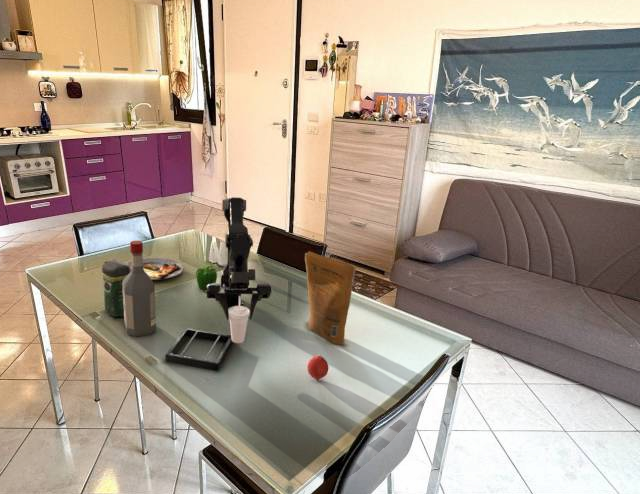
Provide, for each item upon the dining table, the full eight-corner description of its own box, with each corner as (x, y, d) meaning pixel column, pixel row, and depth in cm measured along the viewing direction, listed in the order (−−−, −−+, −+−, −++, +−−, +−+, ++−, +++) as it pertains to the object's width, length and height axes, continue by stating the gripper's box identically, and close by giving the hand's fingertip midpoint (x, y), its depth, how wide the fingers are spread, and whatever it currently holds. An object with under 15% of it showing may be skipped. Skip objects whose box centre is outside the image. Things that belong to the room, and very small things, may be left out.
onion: (304, 372, 125) (307, 348, 122) (324, 372, 126) (327, 348, 123) (308, 385, 120) (311, 360, 117) (329, 385, 120) (332, 360, 117)
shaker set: (231, 267, 198) (232, 244, 194) (224, 269, 195) (224, 245, 191) (215, 259, 206) (215, 237, 202) (207, 261, 203) (208, 238, 199)
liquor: (128, 338, 137) (122, 248, 127) (124, 324, 145) (118, 239, 135) (157, 333, 141) (154, 245, 131) (151, 320, 149) (148, 236, 138)
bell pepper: (191, 289, 173) (191, 266, 170) (201, 282, 180) (201, 259, 177) (210, 294, 170) (210, 270, 167) (219, 286, 178) (220, 263, 174)
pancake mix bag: (337, 351, 137) (348, 268, 127) (296, 325, 151) (303, 248, 141) (352, 344, 141) (363, 263, 131) (310, 320, 155) (318, 245, 145)
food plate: (194, 271, 191) (194, 264, 190) (156, 288, 172) (156, 280, 171) (152, 258, 203) (152, 251, 202) (113, 273, 185) (112, 265, 183)
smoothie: (249, 334, 132) (251, 292, 127) (248, 346, 126) (250, 303, 121) (227, 333, 132) (229, 291, 127) (226, 345, 126) (227, 301, 121)
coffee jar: (136, 313, 153) (133, 263, 147) (115, 320, 148) (111, 269, 141) (121, 303, 159) (118, 255, 153) (101, 310, 154) (97, 261, 147)
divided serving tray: (185, 334, 141) (185, 327, 140) (233, 342, 138) (233, 335, 137) (165, 361, 127) (165, 354, 126) (218, 371, 124) (218, 363, 123)
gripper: (207, 257, 123) (206, 311, 117) (272, 258, 125) (275, 311, 119) (207, 272, 133) (206, 322, 127) (267, 273, 135) (269, 322, 129)
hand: (239, 319), depth 125 cm, fingers closed on smoothie, 6 cm apart
